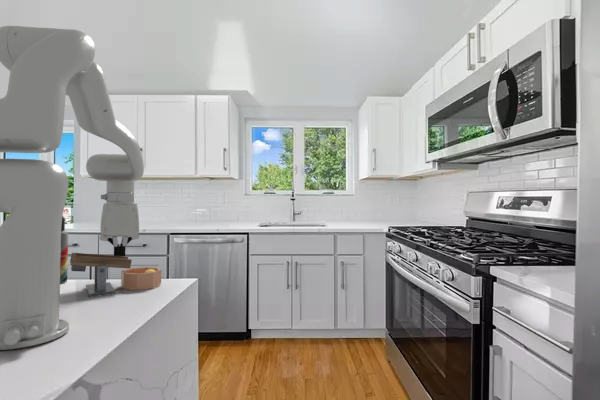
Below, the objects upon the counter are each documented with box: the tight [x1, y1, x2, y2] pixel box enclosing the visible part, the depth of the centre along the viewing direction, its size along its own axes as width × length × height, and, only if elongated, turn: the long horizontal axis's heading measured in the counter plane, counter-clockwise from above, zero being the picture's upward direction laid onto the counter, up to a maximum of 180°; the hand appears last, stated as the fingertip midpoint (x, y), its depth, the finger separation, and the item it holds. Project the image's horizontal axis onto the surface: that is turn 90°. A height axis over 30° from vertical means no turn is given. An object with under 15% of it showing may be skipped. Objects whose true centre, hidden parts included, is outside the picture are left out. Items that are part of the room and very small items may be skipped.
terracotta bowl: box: [120, 266, 162, 291], centre depth 102 cm, size 10×10×4 cm
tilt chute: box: [69, 252, 132, 273], centre depth 99 cm, size 15×14×4 cm
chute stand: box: [85, 265, 116, 298], centre depth 96 cm, size 12×6×8 cm, turn 35°
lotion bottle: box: [60, 215, 69, 285], centre depth 104 cm, size 6×6×20 cm
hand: (119, 258), depth 106 cm, fingers closed
